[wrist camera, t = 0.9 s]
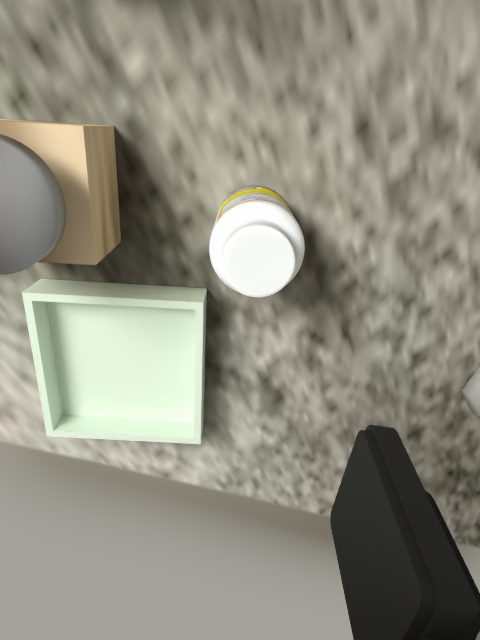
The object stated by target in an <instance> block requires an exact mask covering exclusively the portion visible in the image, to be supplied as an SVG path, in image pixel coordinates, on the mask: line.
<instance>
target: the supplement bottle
mask: <svg viewBox="0 0 480 640" xmlns="http://www.w3.org/2000/svg"><path fill="white" fill-rule="evenodd" d="M209 252H210V259H211V263H212V266H213V268H214V270H215V272H216V274H217V275H218V277H219V278H220V279H221V280H222V281H223V282H224V283H225V284H226V285H227V286H229V287H230V288H232V289H233V290H235V291H238V292H239V293H241V294H244V295H246V296H250V297H266V296H270V295H272V294H274V293H276V292H278V291H280V290H281V289H282V288H283V287H284V286H286V285H287V284H288V283H289V282H290V281H291V280H292V279H293V278H294V277H295V276H296V274H297V273H298V271H299V269H300V267H301V265H302V262H303V258H304V252H305V244H304V237H303V234H302V231H301V228H300V226H299V224H298V222H297V221H296V219H295V217H294V216H293V214H292V212H291V210H290V209H289V207H288V205H287V203H286V202H285V200H284V199H283V198H282V197H281V196H280V195H279V194H277V193H276V192H275V191H273V190H271V189H269V188H266V187H263V186H246V187H243V188H240V189H238V190H236V191H234V192H233V193H231V194H230V195H229V196H228V197H227V198H226V199H225V200H224V202H223V203H222V205H221V207H220V209H219V211H218V214H217V218H216V221H215V224H214V228H213V231H212V234H211V238H210V244H209Z"/></svg>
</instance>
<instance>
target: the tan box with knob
mask: <svg viewBox="0 0 480 640" xmlns="http://www.w3.org/2000/svg"><path fill="white" fill-rule="evenodd" d="M120 242H121V231H120V215H119V199H118V184H117V168H116V152H115V136H114V126H108V125H92V124H75V123H59V122H42V121H26V120H9V119H0V274H11V273H16V272H19V271H22V270H24V269H27V268H29V267H30V266H32V265H33V264H35V263H36V262H48V263H65V264H83V265H97V264H98V263H99V262H100V261H101V260H102V259H103V258H104V257H105V256H106V255H107V254H108V253H109V252H110V251H112V250H113V249H114V248H115V247H116V246H117V245H118V244H119V243H120Z"/></svg>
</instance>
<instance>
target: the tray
mask: <svg viewBox="0 0 480 640" xmlns="http://www.w3.org/2000/svg"><path fill="white" fill-rule="evenodd" d="M22 294H23V300H24V306H25V312H26V318H27V324H28V329H29V335H30V341H31V347H32V353H33V358H34V364H35V370H36V376H37V382H38V388H39V393H40V399H41V405H42V411H43V417H44V422H45V428H46V434H47V436H53V437H73V438H92V439H111V440H130V441H150V442H169V443H188V444H201V438H202V431H203V424H204V390H205V348H206V306H207V288H193V287H175V286H157V285H139V284H122V283H104V282H86V281H68V280H50V279H40V280H38V281H37V282H36V283H34V284H33V285H32V286H30V287H29V288H28V289H26V290H25V291H24V292H22Z"/></svg>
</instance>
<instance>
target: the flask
mask: <svg viewBox="0 0 480 640" xmlns="http://www.w3.org/2000/svg"><path fill="white" fill-rule="evenodd" d="M462 392H463V395H464V397H465V399H466V401H467V403H468V405H469V407H470V409H471V411H472V413H473V414H475V415H476V416H478V417H480V366H479V368H478V369H477V370H476V372H475V373H474V375H473V376H472V377H471V379H470V380H469V381H468V383H467V384H466V386H465V387H464V388H463V390H462Z"/></svg>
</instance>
